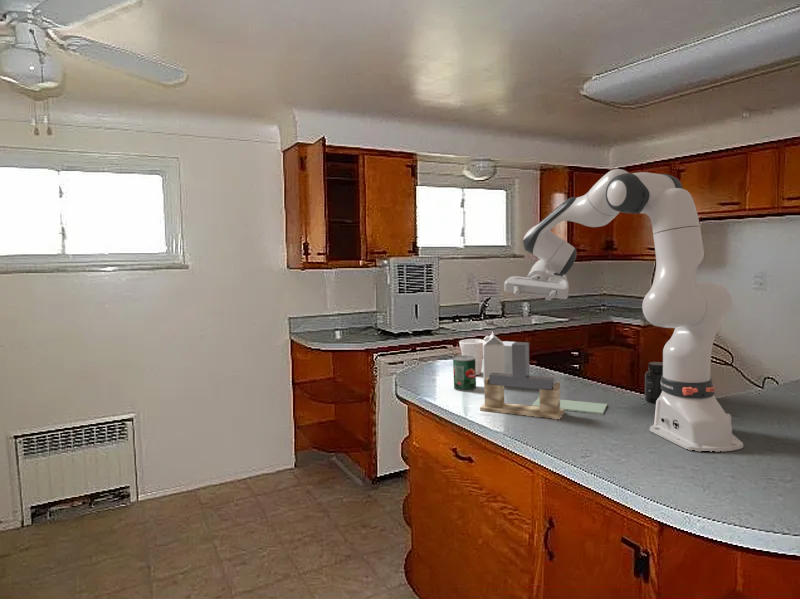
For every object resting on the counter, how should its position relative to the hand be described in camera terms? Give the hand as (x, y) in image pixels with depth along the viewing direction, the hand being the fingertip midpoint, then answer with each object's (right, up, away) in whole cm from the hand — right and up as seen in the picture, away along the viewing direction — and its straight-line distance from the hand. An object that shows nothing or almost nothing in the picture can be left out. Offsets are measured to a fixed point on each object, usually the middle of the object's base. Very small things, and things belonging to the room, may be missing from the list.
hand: (532, 296), depth 170 cm
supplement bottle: (+39, -33, 0) cm, 51 cm away
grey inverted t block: (-5, -27, -5) cm, 28 cm away
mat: (+11, -34, -2) cm, 36 cm away
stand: (-4, -35, -5) cm, 36 cm away
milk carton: (-7, -32, +27) cm, 43 cm away
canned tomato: (-18, -33, +24) cm, 44 cm away
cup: (-13, -30, +43) cm, 54 cm away
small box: (-1, -31, +36) cm, 47 cm away
